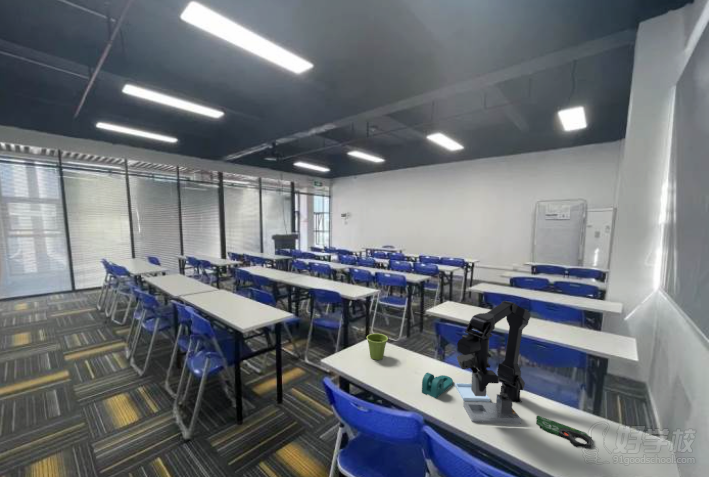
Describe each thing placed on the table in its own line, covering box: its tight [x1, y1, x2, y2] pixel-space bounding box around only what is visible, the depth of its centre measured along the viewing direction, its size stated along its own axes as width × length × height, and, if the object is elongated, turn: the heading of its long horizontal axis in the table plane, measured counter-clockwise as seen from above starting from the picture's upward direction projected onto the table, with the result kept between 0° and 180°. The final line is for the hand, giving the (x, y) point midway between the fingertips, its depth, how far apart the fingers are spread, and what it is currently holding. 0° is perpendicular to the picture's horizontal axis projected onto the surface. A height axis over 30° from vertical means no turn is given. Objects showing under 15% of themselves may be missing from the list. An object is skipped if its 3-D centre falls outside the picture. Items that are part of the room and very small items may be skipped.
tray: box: [453, 382, 491, 403], centre depth 123 cm, size 11×11×2 cm
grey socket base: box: [462, 392, 522, 425], centre depth 109 cm, size 18×9×9 cm, turn 89°
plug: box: [471, 371, 487, 396], centre depth 109 cm, size 4×4×9 cm
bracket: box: [421, 372, 454, 399], centre depth 127 cm, size 18×7×8 cm, turn 134°
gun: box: [535, 415, 593, 450], centre depth 101 cm, size 16×2×10 cm
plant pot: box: [366, 333, 389, 361], centre depth 156 cm, size 12×12×11 cm
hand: (479, 388), depth 109 cm, fingers closed on plug, 4 cm apart
